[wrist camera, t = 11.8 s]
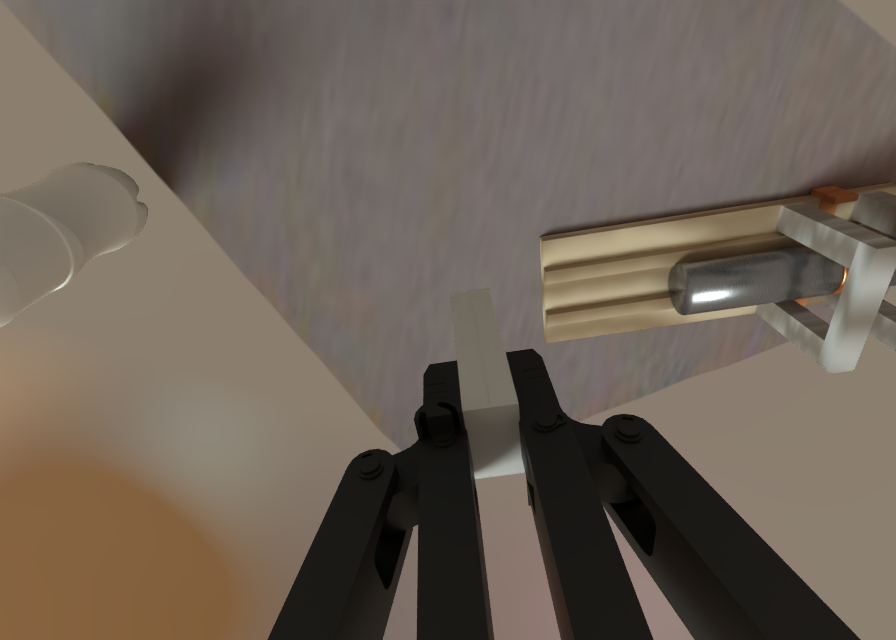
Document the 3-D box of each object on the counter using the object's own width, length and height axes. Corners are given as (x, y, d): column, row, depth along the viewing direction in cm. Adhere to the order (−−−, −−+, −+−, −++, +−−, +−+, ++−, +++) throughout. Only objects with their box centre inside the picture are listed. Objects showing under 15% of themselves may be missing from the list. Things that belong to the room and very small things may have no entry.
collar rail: (539, 230, 44) (573, 286, 34) (893, 176, 43) (1037, 217, 33) (544, 337, 51) (573, 409, 41) (850, 292, 49) (959, 356, 39)
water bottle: (115, 247, 43) (-188, 446, 22) (51, 178, 40) (-384, 334, 18) (174, 216, 42) (-87, 394, 20) (114, 141, 38) (-276, 263, 17)
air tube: (665, 299, 47) (689, 326, 43) (671, 254, 44) (697, 278, 40) (862, 270, 46) (907, 295, 42) (881, 223, 43) (931, 244, 39)
